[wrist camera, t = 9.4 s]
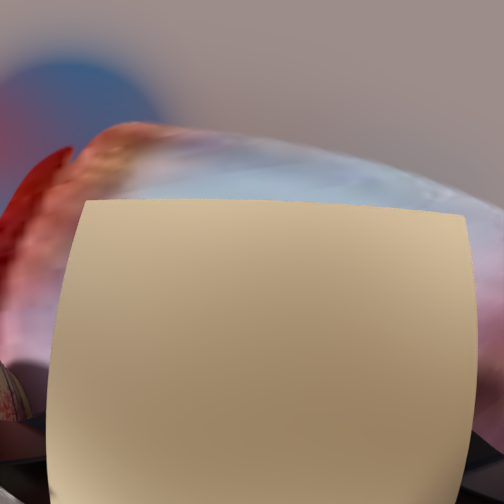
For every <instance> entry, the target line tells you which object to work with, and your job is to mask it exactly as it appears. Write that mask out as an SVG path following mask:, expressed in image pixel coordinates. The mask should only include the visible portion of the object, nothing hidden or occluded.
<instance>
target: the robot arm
mask: <svg viewBox="0 0 504 504" xmlns="http://www.w3.org/2000/svg"><path fill="white" fill-rule="evenodd" d="M0 504H51V502H50V494H49V484H48V472H47V454H46V410H45V411H43V412H41V413H39V414H37V415H35V416H33V417H31V418H28V419H25V420H20V421H9V420H0ZM455 504H504V454H502V453H500V452H499V451H497V450H496V449H495V448H493V447H492V446H491V445H490V444H488V443H487V442H486V441H485V440H484V439H482V438H481V437H480V436H479V435H477V434H476V433H475V432H474V431H472V430H471V437H470V443H469V448H468V454H467V459H466V463H465V468H464V472H463V476H462V481H461V484H460V488H459V492H458V495H457V499H456V502H455Z"/></svg>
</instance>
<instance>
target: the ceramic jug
mask: <svg viewBox="0 0 504 504" xmlns="http://www.w3.org/2000/svg"><path fill="white" fill-rule="evenodd" d="M31 417H32V412H31V407H30V404H29V401H28V399H27V396H26V393H25V390H24V389H23V387H22V385H21V384H20V382H19V381H18V379H17V378H16V376H15V375H14V374H13V373H11V372H10V371H8V370H7V369H6V368H5V367H4V365H3V364H2V362H1V361H0V420H9V421H20V420H25V419H28V418H31Z"/></svg>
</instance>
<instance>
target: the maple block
mask: <svg viewBox="0 0 504 504" xmlns="http://www.w3.org/2000/svg"><path fill="white" fill-rule="evenodd" d="M477 363H478V327H477V306H476V292H475V282H474V272H473V264H472V257H471V250H470V244H469V238H468V232H467V227H466V222H465V217H464V216H463V215H455V214H446V213H437V212H428V211H418V210H408V209H398V208H386V207H374V206H361V205H348V204H332V203H315V202H296V201H272V200H240V199H122V200H91V201H86V202H85V205H84V208H83V211H82V214H81V217H80V221H79V224H78V227H77V230H76V234H75V237H74V241H73V244H72V248H71V252H70V255H69V259H68V263H67V267H66V271H65V276H64V280H63V285H62V289H61V294H60V299H59V304H58V309H57V315H56V321H55V327H54V333H53V340H52V348H51V356H50V365H49V375H48V388H47V407H46V454H47V472H48V484H49V494H50V502H51V504H455V502H456V499H457V495H458V492H459V488H460V484H461V481H462V476H463V472H464V468H465V463H466V459H467V454H468V448H469V443H470V437H471V430H472V423H473V416H474V407H475V397H476V384H477Z"/></svg>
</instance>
